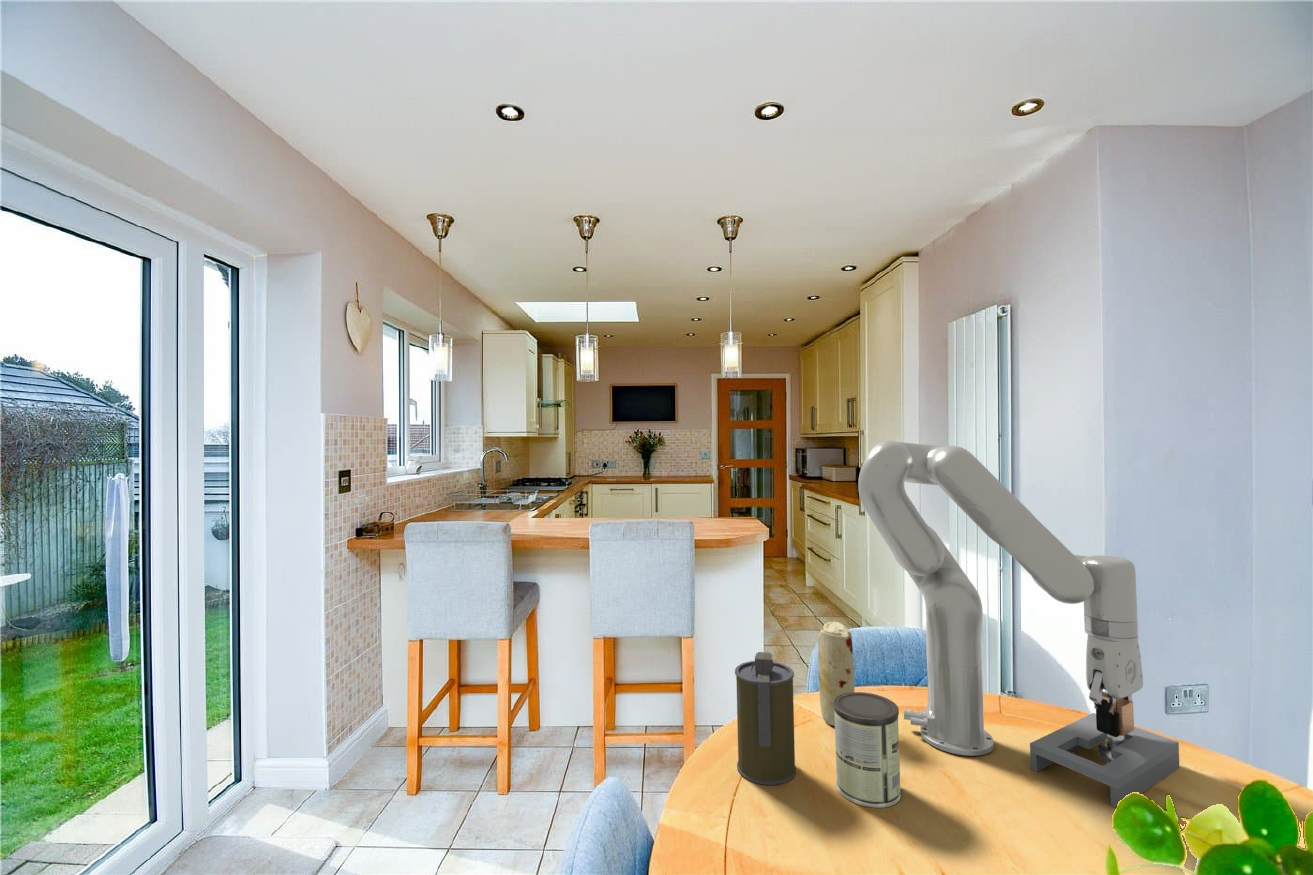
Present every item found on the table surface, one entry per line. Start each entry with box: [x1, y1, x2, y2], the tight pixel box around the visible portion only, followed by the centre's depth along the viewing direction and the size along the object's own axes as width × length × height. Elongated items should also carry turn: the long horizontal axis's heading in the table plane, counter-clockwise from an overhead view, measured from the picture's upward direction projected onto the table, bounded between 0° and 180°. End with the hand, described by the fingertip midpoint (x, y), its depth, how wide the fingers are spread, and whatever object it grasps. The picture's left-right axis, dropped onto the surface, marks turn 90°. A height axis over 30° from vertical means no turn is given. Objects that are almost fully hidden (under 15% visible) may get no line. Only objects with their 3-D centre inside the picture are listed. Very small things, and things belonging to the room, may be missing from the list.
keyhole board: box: [1029, 712, 1180, 808], centre depth 101 cm, size 22×13×4 cm, turn 119°
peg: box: [1098, 696, 1135, 764], centre depth 103 cm, size 5×5×10 cm
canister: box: [734, 651, 797, 786], centre depth 103 cm, size 11×10×20 cm
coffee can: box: [833, 691, 902, 809], centre depth 97 cm, size 10×10×14 cm
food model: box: [817, 621, 855, 727], centre depth 121 cm, size 10×7×20 cm
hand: (1114, 729), depth 103 cm, fingers closed on peg, 4 cm apart
